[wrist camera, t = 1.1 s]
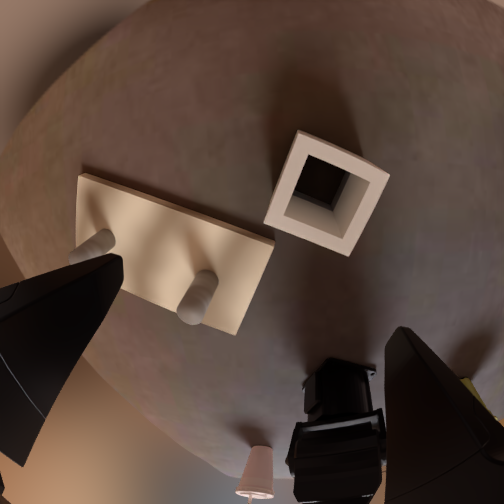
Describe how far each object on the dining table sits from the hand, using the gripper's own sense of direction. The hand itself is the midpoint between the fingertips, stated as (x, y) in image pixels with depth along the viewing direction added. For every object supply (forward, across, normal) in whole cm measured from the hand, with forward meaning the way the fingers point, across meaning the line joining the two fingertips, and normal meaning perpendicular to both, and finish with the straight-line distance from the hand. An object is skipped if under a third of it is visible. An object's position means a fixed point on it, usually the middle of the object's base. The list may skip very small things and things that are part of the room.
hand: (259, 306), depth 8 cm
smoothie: (+13, -9, +43) cm, 46 cm away
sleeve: (+13, -2, -2) cm, 14 cm away
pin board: (+13, +9, +8) cm, 18 cm away
